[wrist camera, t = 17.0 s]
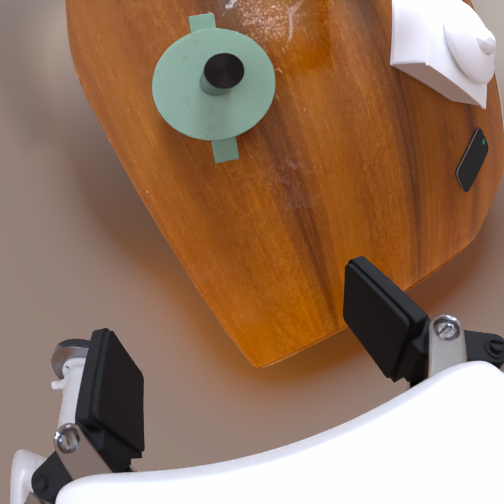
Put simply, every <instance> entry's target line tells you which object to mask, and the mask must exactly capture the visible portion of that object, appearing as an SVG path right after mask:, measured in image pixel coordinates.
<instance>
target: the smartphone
mask: <svg viewBox="0 0 504 504" xmlns="http://www.w3.org/2000/svg"><path fill="white" fill-rule="evenodd" d="M487 153H488V144H487V141H486V139H485V136H484V134H483V131H482V130H481V129H480V128H478V129H477V130H476V131H475V133H474V136H473V138H472V140H471V142H470V144H469V146H468V148H467V150H466V152H465V154H464V156H463V158H462V160H461V162H460V164H459V166H458V168H457V171H456V176H457V179H458V181H459V183H460V185H461V187H462V189H463V190H464V191H465V192H468V191H469V190H470V188H471V186H472V184H473V182H474V180H475V178H476V176H477V174H478V172H479V170H480V168H481V166H482V164H483V162H484V159H485V157H486V155H487Z"/></svg>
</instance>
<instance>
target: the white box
mask: <svg viewBox="0 0 504 504" xmlns="http://www.w3.org/2000/svg"><path fill="white" fill-rule="evenodd" d="M496 49H497V46H496V40H495V38H494V36H493V35H492V33H491V32H490V31H488V30H487V29H486V27H485V25H484V24H483V22H482V20H481V19H480V18H479V16H478V15H477V14H476V13H475V12H474V10H473V9H472V8H471V7H469V6H468V5H467V4H465V3H464V2H462V1H460V0H392V43H391V59H390V65H391V66H393V67H395V68H397V69H399V70H401V71H403V72H404V73H406V74H408V75H410V76H412V77H414V78H415V79H417V80H419V81H421V82H422V83H424V84H426V85H427V86H429V87H430V88H432V89H434V90H435V91H437V92H438V93H440V94H441V95H443V96H444V97H446V98H447V99H449V100H450V101H455V102H461V103H467V104H473V105H478V106H480V107H481V108H482V109H486V95H487V83H488V82H489V81H490V80H491V79H492V77H493V74H494V70H495V53H494V52H495V50H496Z"/></svg>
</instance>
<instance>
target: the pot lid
mask: <svg viewBox="0 0 504 504" xmlns="http://www.w3.org/2000/svg"><path fill="white" fill-rule="evenodd" d="M152 92H153V98H154V102H155V104H156V107H157V109H158V111H159V113H160V114H161V116H162V117H163V118H164V119H165V121H166V122H167V123H168V124H169V125H170V126H172V127H173V128H174V129H176V130H177V131H179V132H180V133H182V134H184V135H187V136H189V137H192V138H196V139H201V140H223V139H228V138H232V137H235V136H237V135H240V134H242V133H244V132H246V131H247V130H249V129H250V128H252V127H253V126H254V125H255V124H257V123H258V122H259V121H260V120H261V119H262V117H263V116H264V115H265V113H266V112H267V110H268V109H269V107H270V105H271V103H272V100H273V97H274V92H275V73H274V69H273V66H272V64H271V61H270V59H269V58H268V56H267V54H266V53H265V52H264V50H263V49H262V48H261V47H260V46H259V45H258V44H257V43H256V42H254V41H253V40H252V39H250V38H248V37H247V36H245V35H243V34H240V33H238V32H235V31H231V30H226V29H205V30H200V31H196V32H193V33H191V34H188V35H186V36H184V37H182V38H181V39H179V40H178V41H176V42H175V43H174V44H172V45H171V46H170V47H169V48H168V49H167V50H166V51H165V52H164V54H163V55H162V57H161V58H160V60H159V62H158V64H157V66H156V68H155V71H154V75H153V80H152Z"/></svg>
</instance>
